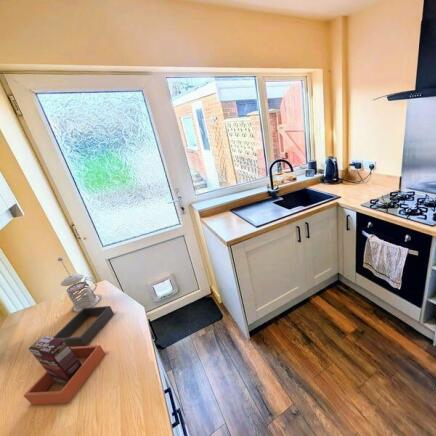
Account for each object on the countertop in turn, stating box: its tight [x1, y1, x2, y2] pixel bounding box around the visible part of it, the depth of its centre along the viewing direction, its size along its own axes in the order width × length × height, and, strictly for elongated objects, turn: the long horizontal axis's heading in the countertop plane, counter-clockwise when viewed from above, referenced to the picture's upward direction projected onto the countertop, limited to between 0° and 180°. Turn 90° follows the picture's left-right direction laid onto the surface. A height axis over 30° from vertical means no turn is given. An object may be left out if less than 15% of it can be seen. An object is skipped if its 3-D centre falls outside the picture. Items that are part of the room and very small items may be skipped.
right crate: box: [52, 305, 115, 347], centre depth 96 cm, size 12×16×4 cm
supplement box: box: [28, 335, 83, 385], centre depth 76 cm, size 9×5×16 cm, turn 76°
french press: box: [56, 256, 100, 313], centre depth 107 cm, size 10×12×25 cm
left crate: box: [23, 344, 106, 406], centre depth 78 cm, size 12×16×4 cm
